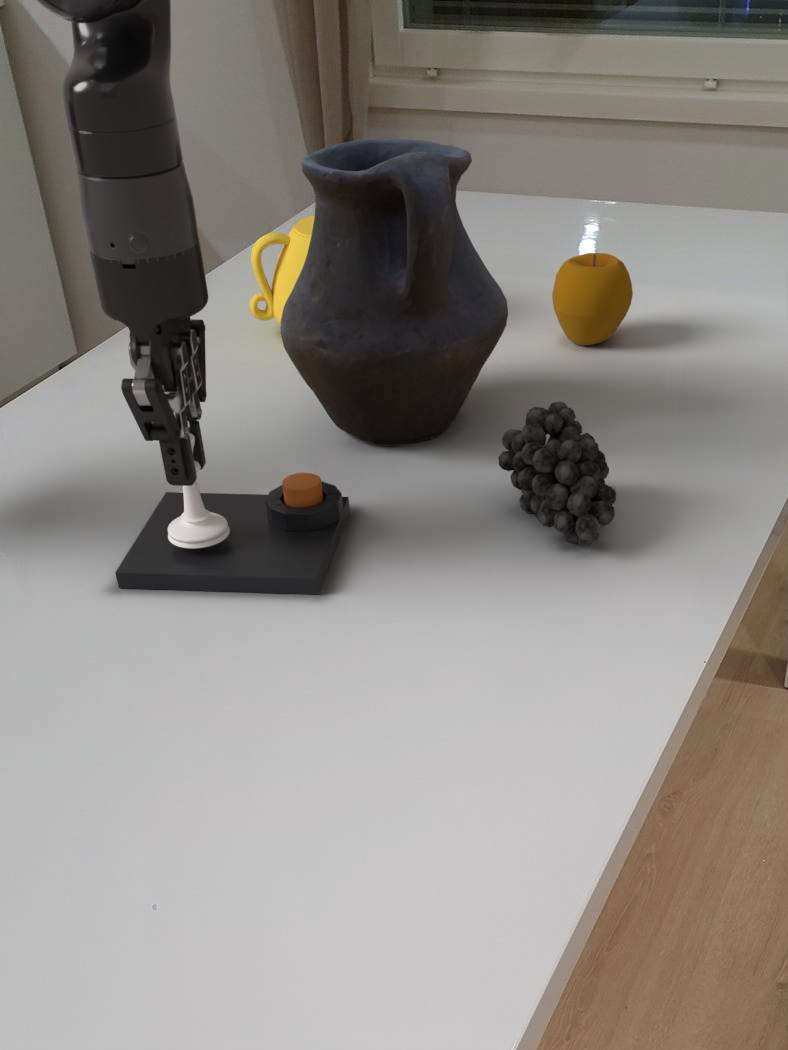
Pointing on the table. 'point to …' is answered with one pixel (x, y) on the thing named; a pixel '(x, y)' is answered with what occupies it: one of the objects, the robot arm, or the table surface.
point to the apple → (591, 297)
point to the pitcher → (391, 291)
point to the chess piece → (196, 519)
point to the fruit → (560, 473)
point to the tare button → (302, 490)
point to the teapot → (280, 268)
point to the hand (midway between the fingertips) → (187, 475)
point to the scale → (241, 546)
